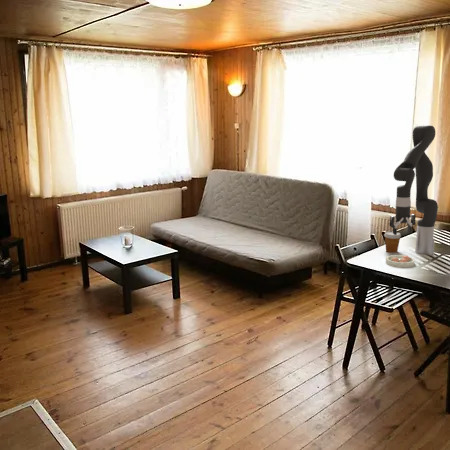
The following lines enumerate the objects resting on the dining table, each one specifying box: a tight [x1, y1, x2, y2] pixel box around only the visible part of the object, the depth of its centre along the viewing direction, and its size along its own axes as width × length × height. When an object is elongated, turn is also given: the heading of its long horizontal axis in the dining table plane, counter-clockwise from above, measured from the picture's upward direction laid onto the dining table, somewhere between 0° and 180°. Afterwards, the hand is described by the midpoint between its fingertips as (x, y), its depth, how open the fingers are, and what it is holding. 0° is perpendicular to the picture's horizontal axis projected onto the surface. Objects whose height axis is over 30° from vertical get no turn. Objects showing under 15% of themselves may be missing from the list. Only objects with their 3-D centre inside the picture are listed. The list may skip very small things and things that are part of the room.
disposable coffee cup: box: [383, 231, 402, 254], centre depth 282 cm, size 10×10×12 cm
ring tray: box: [385, 254, 415, 268], centre depth 261 cm, size 15×15×3 cm
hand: (402, 233), depth 258 cm, fingers open, 8 cm apart
